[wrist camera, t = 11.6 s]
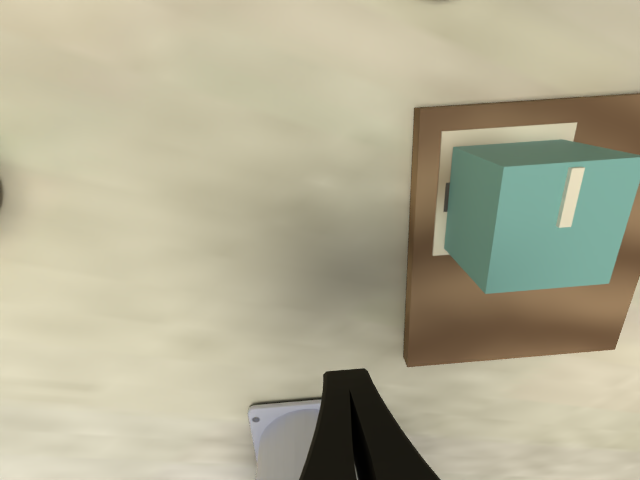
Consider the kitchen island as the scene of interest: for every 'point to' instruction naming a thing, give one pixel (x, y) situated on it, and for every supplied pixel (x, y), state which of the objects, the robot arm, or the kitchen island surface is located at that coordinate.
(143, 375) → the kitchen island surface
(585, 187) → the knob
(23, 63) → the kitchen island surface
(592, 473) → the kitchen island surface
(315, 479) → the robot arm
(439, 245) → the board
